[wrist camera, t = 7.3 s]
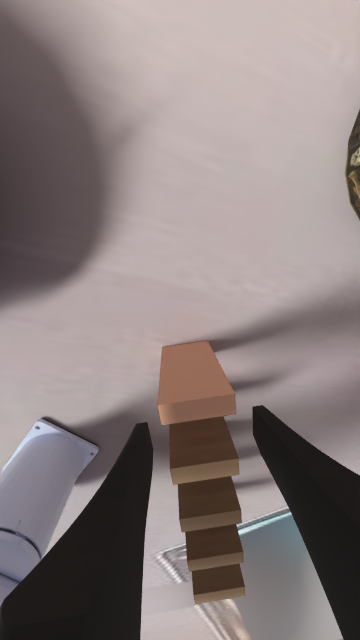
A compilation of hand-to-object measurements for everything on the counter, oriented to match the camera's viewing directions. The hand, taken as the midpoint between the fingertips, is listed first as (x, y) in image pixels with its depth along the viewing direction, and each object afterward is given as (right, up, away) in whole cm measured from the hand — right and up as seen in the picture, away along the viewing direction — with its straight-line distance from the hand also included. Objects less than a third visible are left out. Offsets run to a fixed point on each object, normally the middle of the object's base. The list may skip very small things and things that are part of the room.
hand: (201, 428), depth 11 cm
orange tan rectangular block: (-1, +3, +10) cm, 10 cm away
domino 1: (0, -2, +12) cm, 12 cm away
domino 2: (+1, -8, +13) cm, 15 cm away
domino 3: (+1, -13, +15) cm, 20 cm away
